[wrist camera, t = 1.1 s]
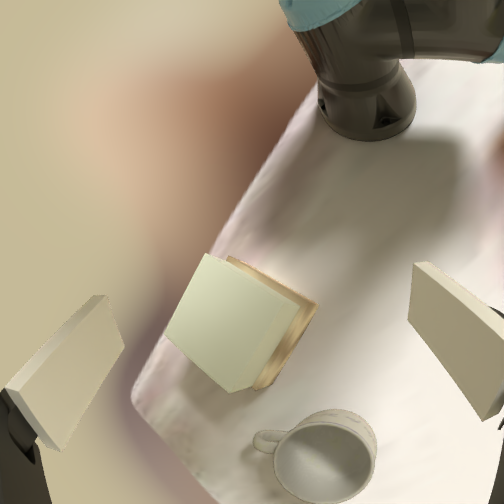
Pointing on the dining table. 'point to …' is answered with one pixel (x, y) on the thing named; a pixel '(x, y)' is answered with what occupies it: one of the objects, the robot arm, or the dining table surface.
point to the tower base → (292, 332)
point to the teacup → (323, 456)
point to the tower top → (229, 323)
